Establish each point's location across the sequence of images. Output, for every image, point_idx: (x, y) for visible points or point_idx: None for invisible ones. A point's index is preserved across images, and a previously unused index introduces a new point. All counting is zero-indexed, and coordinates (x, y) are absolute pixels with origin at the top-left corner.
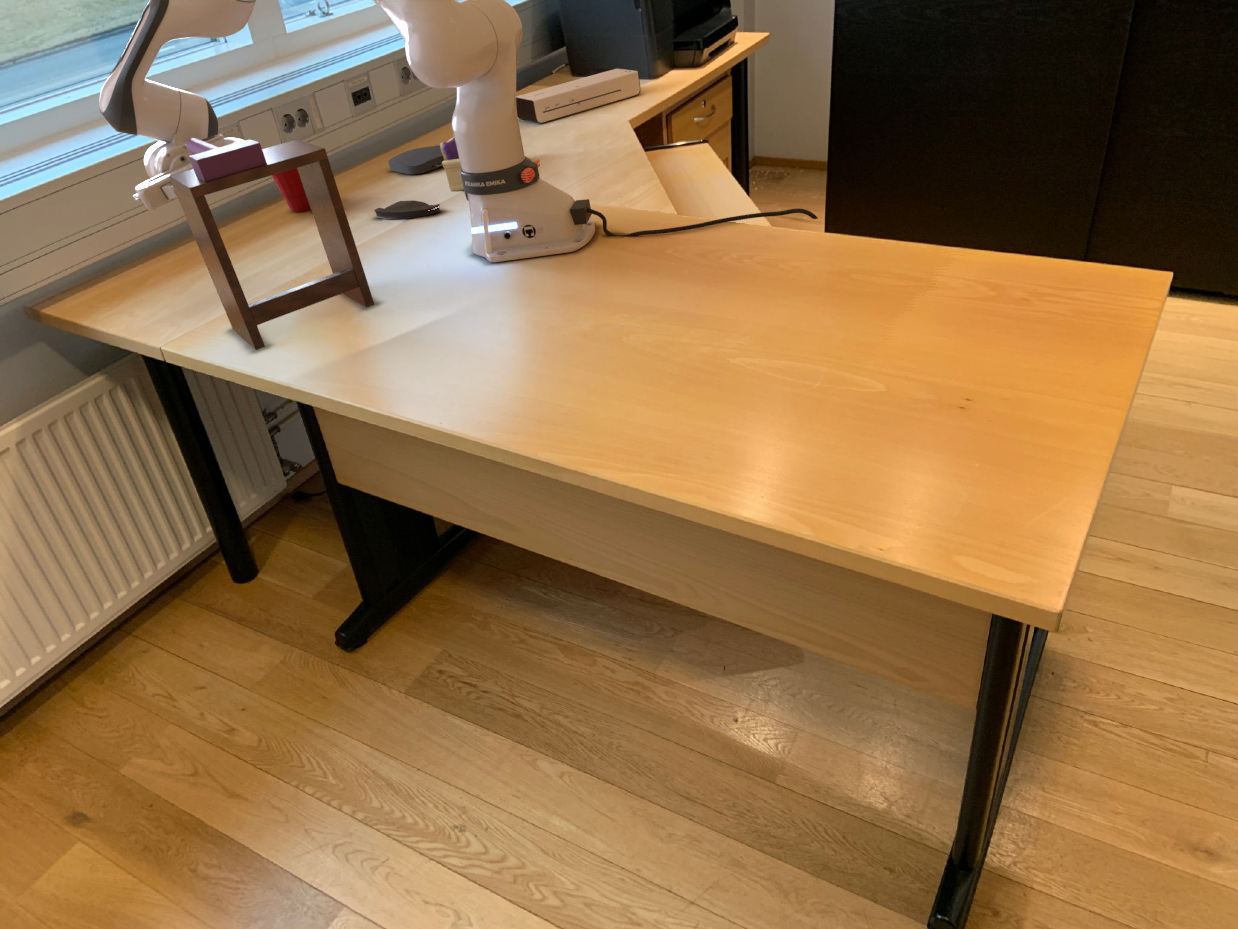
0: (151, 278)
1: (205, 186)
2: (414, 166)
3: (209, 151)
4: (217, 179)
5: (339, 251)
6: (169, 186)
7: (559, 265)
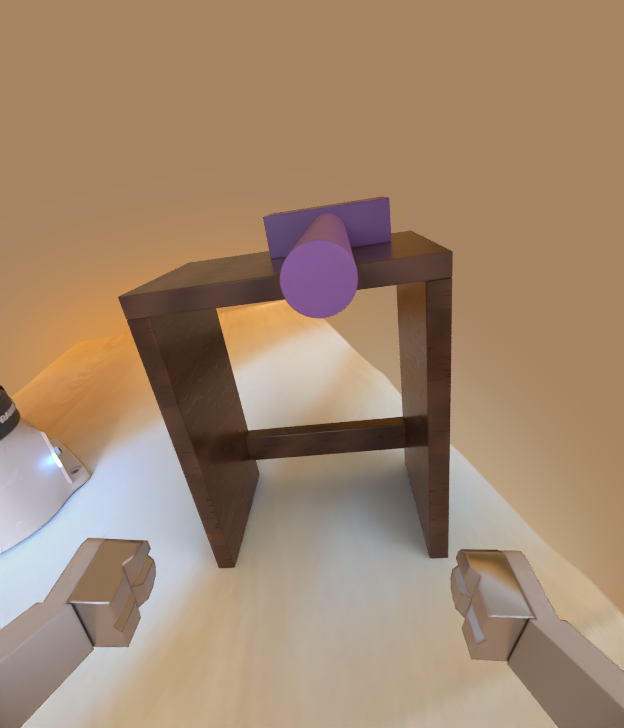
0: None
1: None
2: None
3: (348, 203)
4: None
5: (233, 437)
6: (589, 652)
7: (98, 429)
